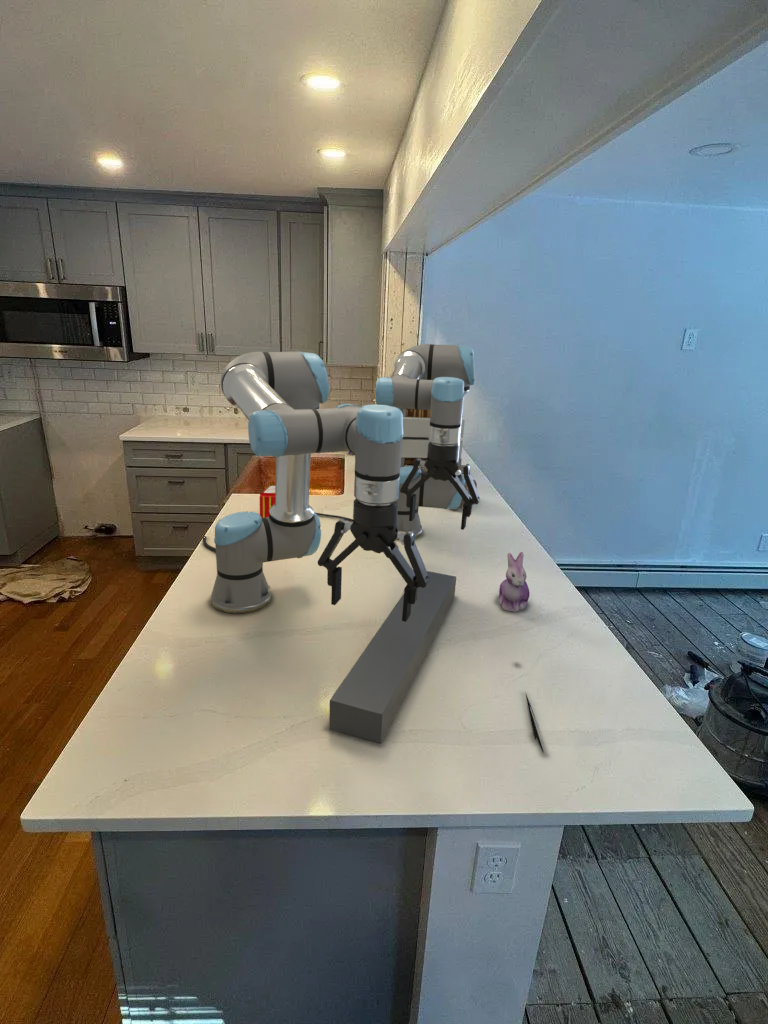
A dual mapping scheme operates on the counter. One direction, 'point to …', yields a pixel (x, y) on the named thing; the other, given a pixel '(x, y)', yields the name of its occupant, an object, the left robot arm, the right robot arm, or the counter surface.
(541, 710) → the counter surface
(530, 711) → the feather
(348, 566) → the counter surface
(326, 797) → the counter surface
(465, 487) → the fossil
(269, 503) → the toy
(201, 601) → the counter surface
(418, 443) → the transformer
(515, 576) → the figurine
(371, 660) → the slab
